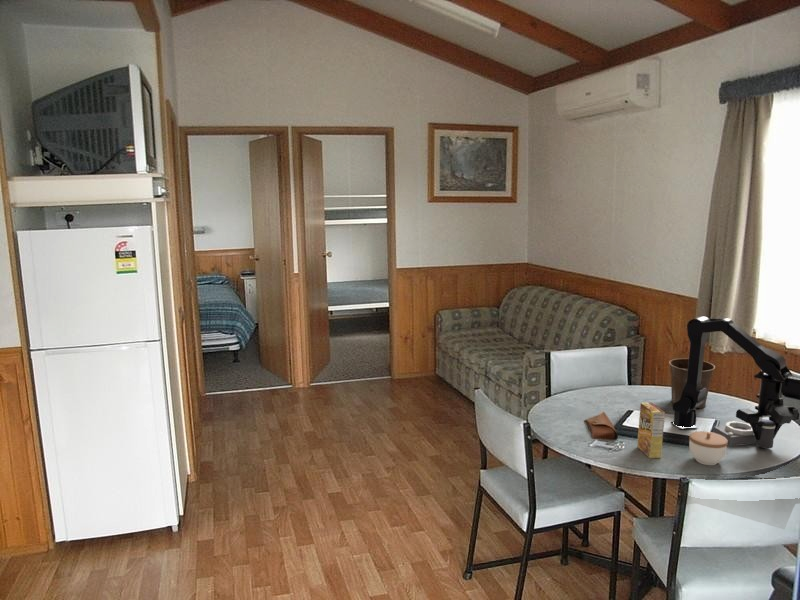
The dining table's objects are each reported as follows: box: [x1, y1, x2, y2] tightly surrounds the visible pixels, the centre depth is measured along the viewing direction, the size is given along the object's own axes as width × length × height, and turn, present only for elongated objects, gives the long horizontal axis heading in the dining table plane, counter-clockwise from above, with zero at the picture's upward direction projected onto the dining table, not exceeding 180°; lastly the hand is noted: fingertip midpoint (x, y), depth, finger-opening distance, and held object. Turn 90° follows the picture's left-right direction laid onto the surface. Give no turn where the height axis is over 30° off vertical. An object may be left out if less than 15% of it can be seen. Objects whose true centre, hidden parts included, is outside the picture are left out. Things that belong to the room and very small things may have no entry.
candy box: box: [636, 402, 666, 459], centre depth 204 cm, size 9×4×15 cm, turn 6°
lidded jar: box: [688, 430, 729, 466], centre depth 198 cm, size 11×11×9 cm
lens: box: [755, 418, 775, 449], centre depth 207 cm, size 5×5×8 cm
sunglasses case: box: [583, 411, 619, 441], centre depth 224 cm, size 18×7×7 cm
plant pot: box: [668, 357, 716, 409], centre depth 247 cm, size 16×16×16 cm
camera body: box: [712, 420, 756, 447], centre depth 215 cm, size 13×9×4 cm
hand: (764, 439), depth 207 cm, fingers closed on lens, 5 cm apart
